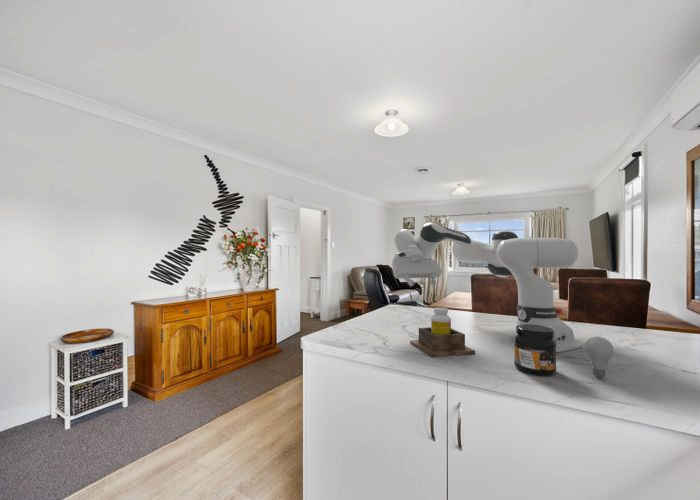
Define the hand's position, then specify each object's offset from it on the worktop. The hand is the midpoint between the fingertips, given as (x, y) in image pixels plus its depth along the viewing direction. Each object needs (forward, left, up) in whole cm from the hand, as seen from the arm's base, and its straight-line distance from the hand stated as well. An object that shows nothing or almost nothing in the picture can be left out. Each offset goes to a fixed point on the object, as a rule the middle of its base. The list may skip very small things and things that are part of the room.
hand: (423, 284), depth 122 cm
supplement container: (-16, +38, -21) cm, 46 cm away
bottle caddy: (0, +14, -21) cm, 25 cm away
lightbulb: (-28, +47, -21) cm, 58 cm away
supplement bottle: (0, +14, -20) cm, 24 cm away
